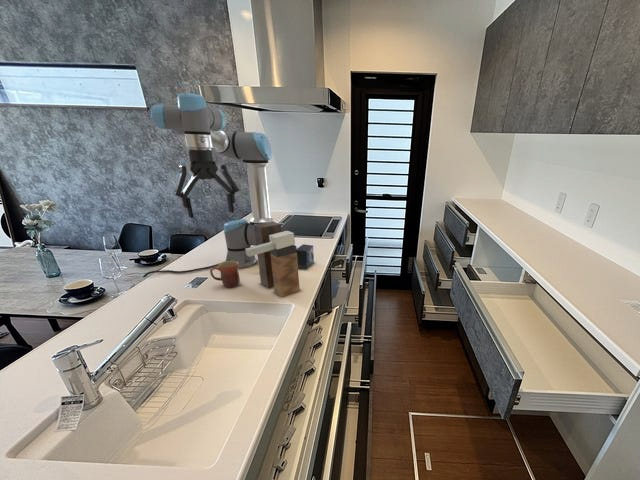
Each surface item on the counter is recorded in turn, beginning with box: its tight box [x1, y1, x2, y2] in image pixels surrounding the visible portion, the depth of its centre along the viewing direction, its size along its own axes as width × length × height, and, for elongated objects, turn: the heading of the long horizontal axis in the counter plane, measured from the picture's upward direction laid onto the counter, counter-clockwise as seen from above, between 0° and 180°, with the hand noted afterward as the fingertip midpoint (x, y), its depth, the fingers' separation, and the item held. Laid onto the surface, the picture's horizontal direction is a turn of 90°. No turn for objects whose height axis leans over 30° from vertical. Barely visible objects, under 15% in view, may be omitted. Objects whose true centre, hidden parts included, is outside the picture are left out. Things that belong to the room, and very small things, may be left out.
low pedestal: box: [270, 253, 301, 298], centre depth 131 cm, size 9×6×18 cm, turn 135°
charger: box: [245, 230, 296, 257], centre depth 121 cm, size 20×5×5 cm, turn 135°
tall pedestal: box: [254, 221, 282, 289], centre depth 136 cm, size 9×7×28 cm
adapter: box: [270, 244, 298, 257], centre depth 126 cm, size 9×6×3 cm, turn 135°
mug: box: [209, 260, 241, 289], centre depth 136 cm, size 12×9×10 cm
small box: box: [296, 243, 315, 270], centre depth 161 cm, size 11×6×10 cm, turn 168°
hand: (212, 214), depth 107 cm, fingers open, 13 cm apart
